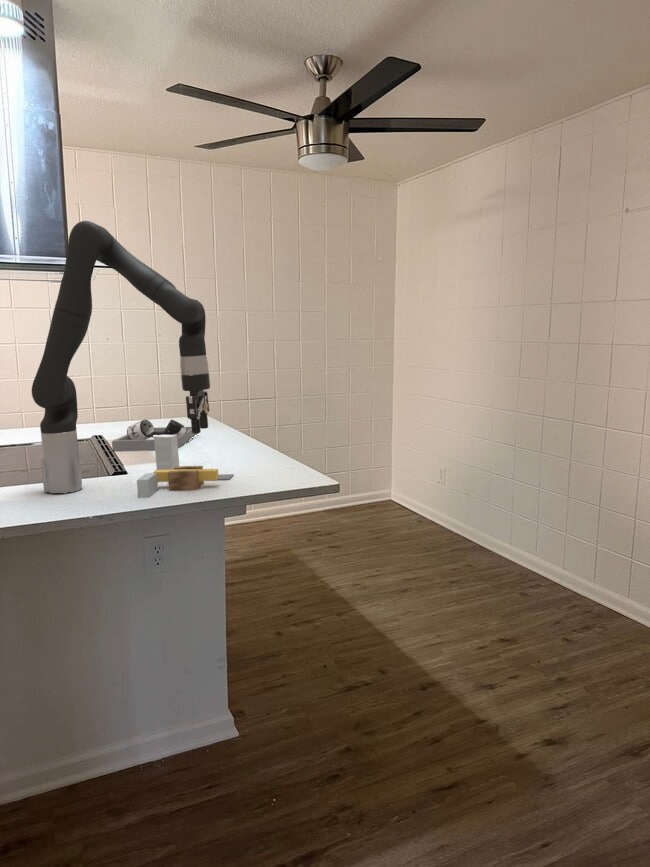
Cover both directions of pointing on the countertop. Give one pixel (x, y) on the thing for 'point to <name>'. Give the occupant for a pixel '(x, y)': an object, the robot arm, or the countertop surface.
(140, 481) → the gray rectangular block
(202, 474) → the yellow bar
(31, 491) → the countertop surface
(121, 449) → the bucket corral
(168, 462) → the skincare box
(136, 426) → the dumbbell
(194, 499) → the countertop surface
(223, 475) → the mat
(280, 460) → the countertop surface
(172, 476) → the cradle
